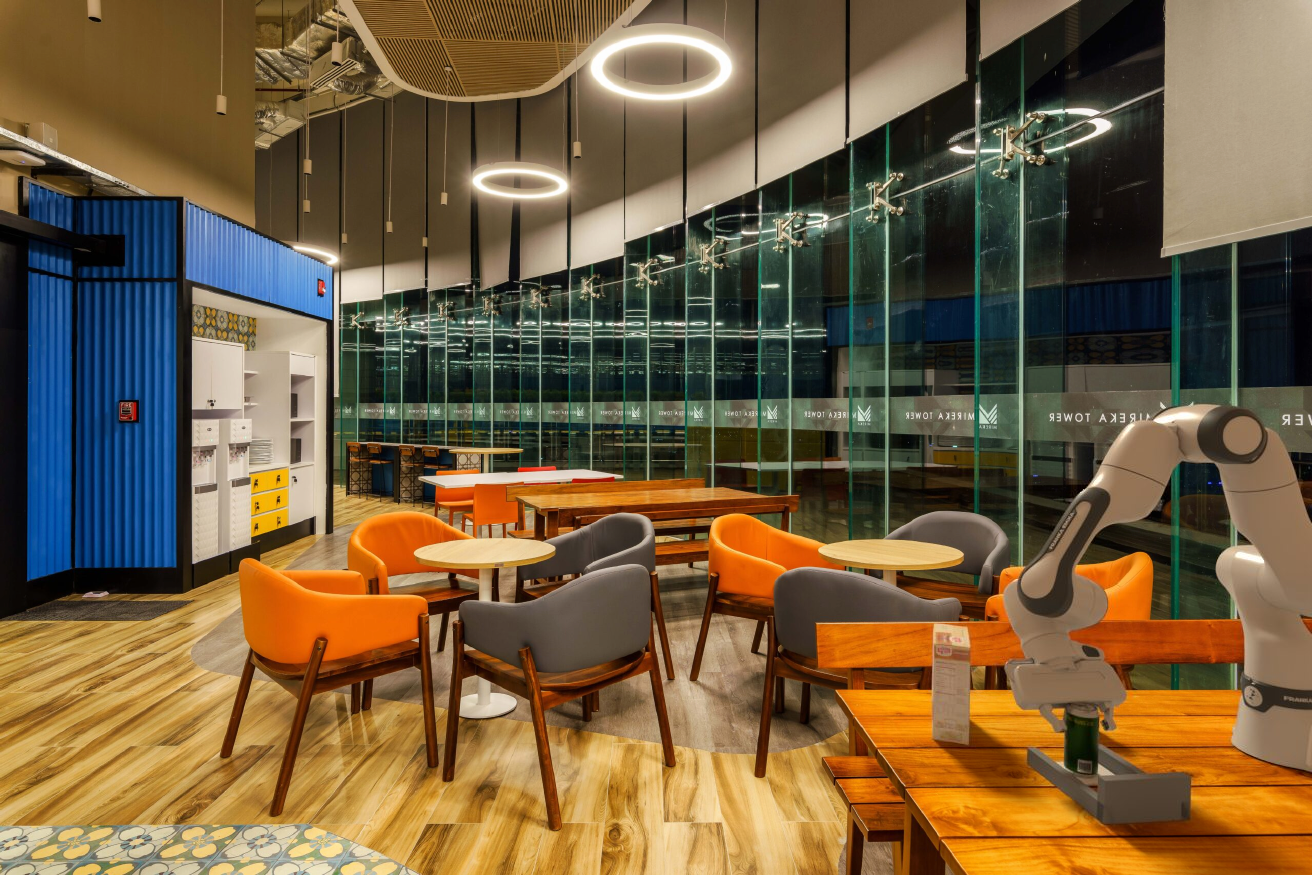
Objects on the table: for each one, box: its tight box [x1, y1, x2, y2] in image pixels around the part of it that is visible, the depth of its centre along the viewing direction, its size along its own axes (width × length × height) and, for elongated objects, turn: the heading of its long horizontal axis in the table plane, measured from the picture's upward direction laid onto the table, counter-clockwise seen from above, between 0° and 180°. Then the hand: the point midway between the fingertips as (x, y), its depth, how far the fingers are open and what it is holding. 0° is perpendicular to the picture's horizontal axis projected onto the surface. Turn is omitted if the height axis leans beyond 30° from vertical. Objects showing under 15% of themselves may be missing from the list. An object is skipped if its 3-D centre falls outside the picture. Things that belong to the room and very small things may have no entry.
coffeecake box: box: [931, 623, 972, 746], centre depth 149 cm, size 15×7×20 cm, turn 159°
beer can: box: [1063, 702, 1101, 778], centre depth 130 cm, size 5×5×12 cm
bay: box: [1026, 743, 1192, 825], centre depth 125 cm, size 15×20×7 cm
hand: (1086, 730), depth 129 cm, fingers open, 8 cm apart
